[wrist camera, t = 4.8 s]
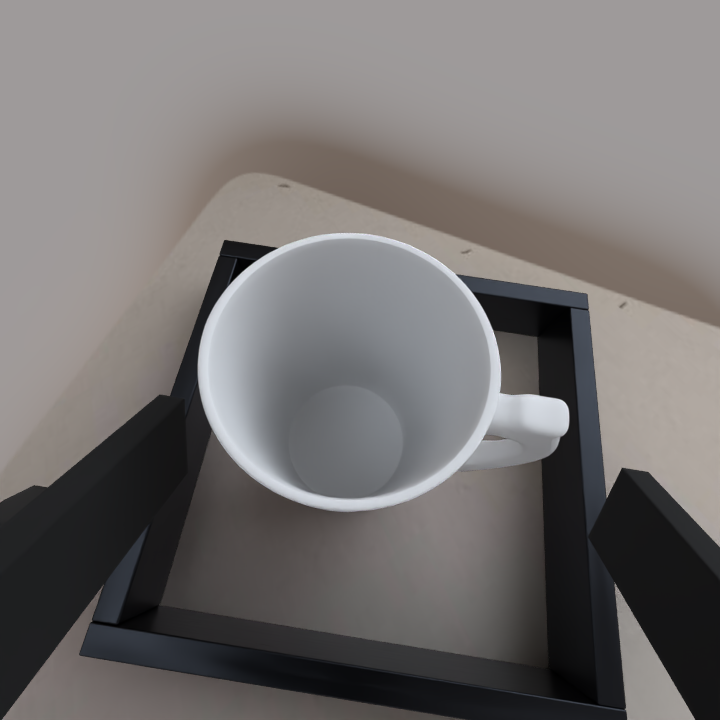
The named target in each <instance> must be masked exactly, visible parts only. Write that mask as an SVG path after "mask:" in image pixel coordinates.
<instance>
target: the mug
mask: <svg viewBox="0 0 720 720" xmlns="http://www.w3.org/2000/svg"><path fill="white" fill-rule="evenodd" d="M198 383H199V391H200V396H201V401H202V404H203V408H204V411H205V414H206V416H207V419H208V421H209V424H210V426H211V428H212V430H213V432H214V434H215V435H216V437H217V439H218V440H219V442H220V443H221V445H222V446H223V448H224V449H225V450H226V452H227V453H228V454H229V456H230V457H231V458H232V459H233V460H234V461H235V462H236V463H237V464H238V465H239V466H240V467H241V468H242V469H243V470H244V471H245V472H246V473H247V474H248V475H249V476H251V477H252V478H253V479H255V480H256V481H257V482H259V483H260V484H262V485H263V486H265V487H266V488H268V489H269V490H271V491H273V492H275V493H277V494H279V495H281V496H283V497H285V498H287V499H290V500H292V501H295V502H298V503H300V504H303V505H306V506H310V507H314V508H318V509H323V510H329V511H336V512H356V511H367V510H375V509H381V508H386V507H390V506H394V505H398V504H401V503H404V502H406V501H409V500H412V499H414V498H416V497H418V496H421V495H423V494H424V493H426V492H428V491H430V490H432V489H433V488H435V487H437V486H438V485H440V484H441V483H442V482H444V481H445V480H447V479H448V478H449V477H450V476H451V475H453V474H454V473H455V472H456V471H461V472H462V471H473V470H485V469H494V468H502V467H509V466H515V465H521V464H525V463H530V462H534V461H537V460H540V459H542V458H545V457H547V456H549V455H550V454H552V453H553V452H554V451H555V449H556V448H557V446H558V443H559V440H560V437H561V436H563V435H564V434H565V433H566V432H567V430H568V427H569V409H568V407H567V405H566V403H565V402H564V401H562V400H560V399H556V398H549V397H544V396H538V395H531V394H522V395H508V394H502V393H500V386H501V365H500V356H499V351H498V346H497V342H496V338H495V335H494V332H493V329H492V327H491V324H490V322H489V320H488V318H487V316H486V314H485V312H484V310H483V308H482V307H481V305H480V303H479V302H478V300H477V299H476V297H475V296H474V295H473V293H472V292H471V291H470V290H469V288H468V287H467V286H466V285H465V284H464V283H463V282H462V281H461V279H460V278H459V277H457V276H456V275H455V274H454V273H453V272H452V271H451V270H450V269H448V268H447V267H446V266H445V265H443V264H442V263H441V262H439V261H438V260H436V259H435V258H433V257H431V256H430V255H428V254H426V253H425V252H423V251H421V250H419V249H417V248H415V247H412V246H410V245H407V244H405V243H402V242H399V241H396V240H393V239H389V238H385V237H381V236H376V235H370V234H361V233H334V234H325V235H319V236H314V237H309V238H305V239H302V240H298V241H295V242H292V243H290V244H287V245H285V246H282V247H280V248H278V249H276V250H274V251H272V252H270V253H268V254H267V255H265V256H263V257H262V258H260V259H259V260H257V261H256V262H254V263H253V264H252V265H250V266H249V267H248V268H247V269H245V270H244V271H243V272H242V273H241V274H240V275H239V276H238V277H237V278H236V279H235V280H234V281H233V282H232V283H231V284H230V285H229V286H228V287H227V289H226V290H225V291H224V292H223V294H222V295H221V297H220V298H219V299H218V301H217V303H216V304H215V306H214V308H213V309H212V311H211V313H210V315H209V317H208V319H207V322H206V324H205V327H204V330H203V334H202V337H201V342H200V347H199V355H198ZM485 435H493V436H499V437H503V438H507V439H503V440H494V441H488V440H482V439H483V438H484V436H485Z"/></svg>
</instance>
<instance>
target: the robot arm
mask: <svg viewBox="0 0 720 720" xmlns="http://www.w3.org/2000/svg"><path fill="white" fill-rule="evenodd" d="M187 473H188V461H187V439H186V418H185V399H184V398H177V397H171V396H165V395H159V396H157V397H156V398H155V399H154V400H153V401H151V402H150V403H149V404H148V405H147V406H145V407H144V408H143V409H142V410H141V411H139V412H138V413H137V414H136V415H135V416H133V417H132V418H131V419H130V420H129V421H127V422H126V423H125V424H124V425H123V426H121V427H120V428H119V429H118V430H117V431H115V432H114V433H113V434H112V435H111V436H109V437H108V438H107V439H106V440H105V441H103V442H102V443H101V444H100V445H98V446H97V447H96V448H95V449H94V450H92V451H91V452H90V453H89V454H88V455H86V456H85V457H84V458H83V459H82V460H80V461H79V462H78V463H77V464H76V465H74V466H73V467H72V468H71V469H70V470H68V471H67V472H66V473H65V474H64V475H62V476H61V477H60V478H59V479H58V480H56V481H55V482H54V483H53V484H52V485H50V486H49V487H48V488H47V487H41V486H35V485H34V486H32V487H30V488H28V489H26V490H24V491H22V492H20V493H18V494H16V495H13V496H11V497H9V498H7V499H5V500H4V501H2V502H1V503H0V720H2V719H3V717H4V716H5V715H6V713H7V712H8V711H9V709H10V708H11V707H12V705H13V704H14V703H15V701H16V700H17V699H18V697H19V696H20V695H21V693H22V692H23V691H24V689H25V688H26V687H27V685H28V684H29V683H30V681H31V680H32V679H33V677H34V676H35V675H36V674H37V672H38V671H39V670H40V668H41V667H42V666H43V664H44V663H45V662H46V660H47V659H48V658H49V656H50V655H51V654H52V652H53V651H54V650H55V648H56V647H57V646H58V644H59V643H60V642H61V640H62V639H63V638H64V636H65V635H66V634H67V632H68V631H69V630H70V628H71V627H72V626H73V624H74V623H75V622H76V620H77V619H78V618H79V616H80V615H81V614H82V612H83V611H84V610H85V608H86V607H87V606H88V604H89V603H90V602H91V600H92V599H93V598H94V596H95V595H96V594H97V592H98V591H99V590H100V588H101V587H102V586H103V585H104V583H105V582H106V581H107V579H108V578H109V577H110V575H111V574H112V573H113V571H114V570H115V569H116V567H117V566H118V565H119V563H120V562H121V561H122V559H123V558H124V557H125V555H126V554H127V553H128V551H129V550H130V549H131V547H132V546H133V545H134V543H135V542H136V541H137V539H138V538H139V537H140V535H141V534H142V533H143V531H144V530H145V529H146V527H147V526H148V525H149V523H150V522H151V521H152V519H153V518H154V517H155V515H156V514H157V513H158V511H159V510H160V509H161V507H162V506H163V505H164V503H165V502H166V501H167V499H168V498H169V497H170V496H171V494H172V493H173V492H174V490H175V489H176V488H177V486H178V485H179V484H180V482H181V481H182V480H183V478H184V477H185V476H186V474H187ZM588 538H589V539H590V541H591V543H592V545H593V546H594V548H595V550H596V551H597V553H598V555H599V556H600V558H601V560H602V562H603V563H604V565H605V567H606V568H607V570H608V572H609V573H610V575H611V577H612V579H613V580H614V582H615V584H616V585H617V587H618V589H619V590H620V592H621V594H622V596H623V597H624V599H625V601H626V602H627V604H628V606H629V607H630V609H631V611H632V613H633V614H634V616H635V618H636V619H637V621H638V623H639V625H640V626H641V628H642V630H643V631H644V633H645V635H646V636H647V638H648V640H649V642H650V643H651V645H652V647H653V648H654V650H655V652H656V653H657V655H658V657H659V659H660V660H661V662H662V664H663V665H664V667H665V669H666V670H667V672H668V674H669V676H670V677H671V679H672V681H673V682H674V684H675V686H676V687H677V689H678V691H679V693H680V694H681V696H682V698H683V699H684V701H685V703H686V705H687V706H688V708H689V710H690V711H691V713H692V715H693V716H694V718H695V720H720V547H719V546H718V545H717V544H716V543H715V542H714V541H713V540H712V539H711V538H710V537H709V535H708V534H707V533H706V532H705V531H704V530H703V529H702V528H701V527H700V526H699V525H698V524H697V523H696V522H695V521H694V520H693V519H692V518H691V517H690V515H689V514H688V513H687V512H686V511H685V510H684V509H683V508H682V507H681V506H680V505H679V504H678V503H677V502H676V501H675V500H674V499H673V498H672V497H671V496H670V494H669V493H668V492H667V491H666V490H665V489H664V488H663V487H662V486H661V485H660V484H659V483H658V482H657V481H656V480H655V479H654V478H653V477H652V476H651V474H650V473H649V472H645V471H639V470H632V469H626V468H622V469H621V471H620V473H619V475H618V477H617V479H616V481H615V483H614V485H613V487H612V489H611V491H610V493H609V495H608V497H607V499H606V501H605V504H604V506H603V508H602V510H601V512H600V514H599V516H598V518H597V520H596V522H595V524H594V526H593V528H592V530H591V532H590V534H589V536H588Z"/></svg>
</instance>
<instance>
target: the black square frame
mask: <svg viewBox="0 0 720 720" xmlns="http://www.w3.org/2000/svg"><path fill="white" fill-rule="evenodd" d="M276 249H278V248H275V247H269V246H262V245H255V244H248V243H242V242H235V241H228V240H224V243H223V246H222V248H221V251H220V256H219V257H218V260H217V263H216V266H215V269H214V272H213V274H212V277H211V280H210V283H209V286H208V289H207V292H206V294H205V297H204V300H203V303H202V306H201V309H200V312H199V315H198V317H197V320H196V323H195V326H194V329H193V332H192V335H191V337H190V340H189V343H188V346H187V349H186V352H185V355H184V357H183V360H182V363H181V366H180V369H179V372H178V375H177V377H176V380H175V383H174V386H173V389H172V392H171V395H170V396H171V397H177V398H184V399H185V418H186V439H187V461H188V473H187V474H186V476H185V477H184V478H183V480H182V481H181V482H180V484H179V485H178V486H177V488H176V489H175V490H174V492H173V493H172V494H171V496H170V497H169V498H168V499H167V501H166V502H165V503H164V505H163V506H162V507H161V509H160V510H159V511H158V513H157V514H156V515H155V517H154V518H153V519H152V521H151V522H150V523H149V525H148V526H147V527H146V529H145V530H144V531H143V533H142V534H141V535H140V537H139V538H138V539H137V541H136V542H135V543H134V545H133V546H132V547H131V549H130V550H129V551H128V553H127V554H126V555H125V557H124V558H123V559H122V561H121V562H120V563H119V565H118V566H117V567H116V569H115V570H114V571H113V573H112V574H111V575H110V577H109V578H108V579H107V581H106V582H105V583H104V586H103V589H102V592H101V595H100V598H99V601H98V603H97V606H96V609H95V612H94V615H93V618H92V622H91V623H90V625H89V628H88V630H87V633H86V636H85V639H84V642H83V645H82V648H81V650H80V653H79V655H80V656H85V657H91V658H97V659H103V660H109V661H115V662H121V663H127V664H133V665H139V666H145V667H151V668H157V669H163V670H169V671H175V672H181V673H187V674H194V675H200V676H206V677H212V678H218V679H224V680H230V681H236V682H242V683H248V684H254V685H260V686H266V687H272V688H278V689H284V690H290V691H296V692H302V693H308V694H314V695H320V696H326V697H332V698H338V699H344V700H350V701H356V702H362V703H368V704H374V705H381V706H387V707H393V708H399V709H405V710H411V711H417V712H423V713H429V714H435V715H441V716H447V717H453V718H459V719H465V720H627V712H626V710H625V709H626V704H625V693H624V682H623V671H622V660H621V650H620V639H619V628H618V617H617V607H616V596H615V585H614V580H613V579H612V577H611V575H610V573H609V572H608V570H607V568H606V567H605V565H604V563H603V562H602V560H601V558H600V556H599V555H598V553H597V551H596V550H595V548H594V546H593V545H592V543H591V541H590V539H589V538H588V536H589V534H590V532H591V530H592V528H593V526H594V524H595V522H596V520H597V518H598V516H599V514H600V512H601V510H602V508H603V506H604V504H605V501H606V488H605V477H604V467H603V456H602V445H601V434H600V423H599V413H598V402H597V391H596V380H595V370H594V359H593V348H592V337H591V326H590V316H589V311H588V309H589V307H588V296H587V294H585V293H578V292H572V291H565V290H558V289H551V288H545V287H538V286H531V285H524V284H518V283H511V282H504V281H498V280H491V279H484V278H477V277H471V276H464V275H457V274H455V275H456V276H457V277H459V278H460V279H461V281H462V282H463V283H464V284H465V285H466V286H467V287H468V288H469V290H470V291H471V292H472V293H473V295H474V296H475V297H476V299H477V300H478V302H479V303H480V305H481V307H482V308H483V310H484V312H485V314H486V316H487V318H488V320H489V322H490V324H491V327H492V329H493V330H497V331H504V332H511V333H517V334H524V335H531V336H537V337H538V360H539V390H540V396H544V397H549V398H556V399H560V400H562V401H564V402H565V403H566V405H567V407H568V409H569V427H568V430H567V432H566V433H565V434H564V435H563V436H561V437H560V440H559V443H558V446H557V448H556V449H555V451H554V452H553V453H552V454H550V455H549V456H547V457H545V458H542V480H543V510H544V539H545V569H546V599H547V629H548V659H549V669H545V668H539V667H533V666H527V665H521V664H515V663H509V662H502V661H496V660H490V659H484V658H478V657H472V656H466V655H460V654H454V653H447V652H441V651H435V650H429V649H423V648H417V647H411V646H405V645H398V644H392V643H386V642H380V641H374V640H368V639H362V638H356V637H349V636H343V635H337V634H331V633H325V632H319V631H313V630H307V629H300V628H294V627H288V626H282V625H276V624H270V623H264V622H258V621H251V620H245V619H239V618H233V617H227V616H221V615H215V614H209V613H202V612H196V611H190V610H184V609H178V608H172V607H166V606H160V603H161V600H162V596H163V593H164V590H165V586H166V583H167V579H168V576H169V573H170V569H171V566H172V563H173V559H174V556H175V552H176V549H177V546H178V542H179V539H180V535H181V532H182V529H183V525H184V522H185V519H186V515H187V512H188V508H189V505H190V502H191V498H192V495H193V492H194V488H195V485H196V481H197V478H198V475H199V471H200V468H201V465H202V461H203V458H204V454H205V451H206V448H207V444H208V441H209V438H210V434H211V431H212V428H211V426H210V424H209V421H208V419H207V416H206V414H205V411H204V408H203V404H202V401H201V396H200V391H199V383H198V355H199V347H200V342H201V337H202V334H203V330H204V327H205V324H206V322H207V319H208V317H209V315H210V313H211V311H212V309H213V308H214V306H215V304H216V303H217V301H218V299H219V298H220V297H221V295H222V294H223V292H224V291H225V290H226V289H227V287H228V286H229V285H230V284H231V283H232V282H233V281H234V280H235V279H236V278H237V277H238V276H239V275H240V274H241V273H242V272H243V271H244V270H245V269H247V268H248V267H249V266H250V265H252V264H253V263H254V262H256V261H257V260H259V259H260V258H262V257H263V256H265V255H267V254H268V253H270V252H272V251H274V250H276Z"/></svg>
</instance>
